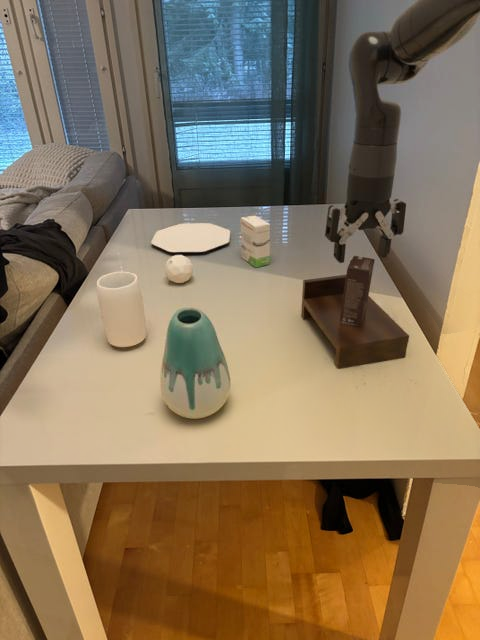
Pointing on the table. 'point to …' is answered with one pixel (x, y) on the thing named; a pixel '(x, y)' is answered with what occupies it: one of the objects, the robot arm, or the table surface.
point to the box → (356, 290)
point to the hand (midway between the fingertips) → (361, 258)
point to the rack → (352, 340)
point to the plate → (191, 238)
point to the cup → (121, 308)
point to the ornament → (178, 268)
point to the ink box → (255, 241)
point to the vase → (193, 366)
